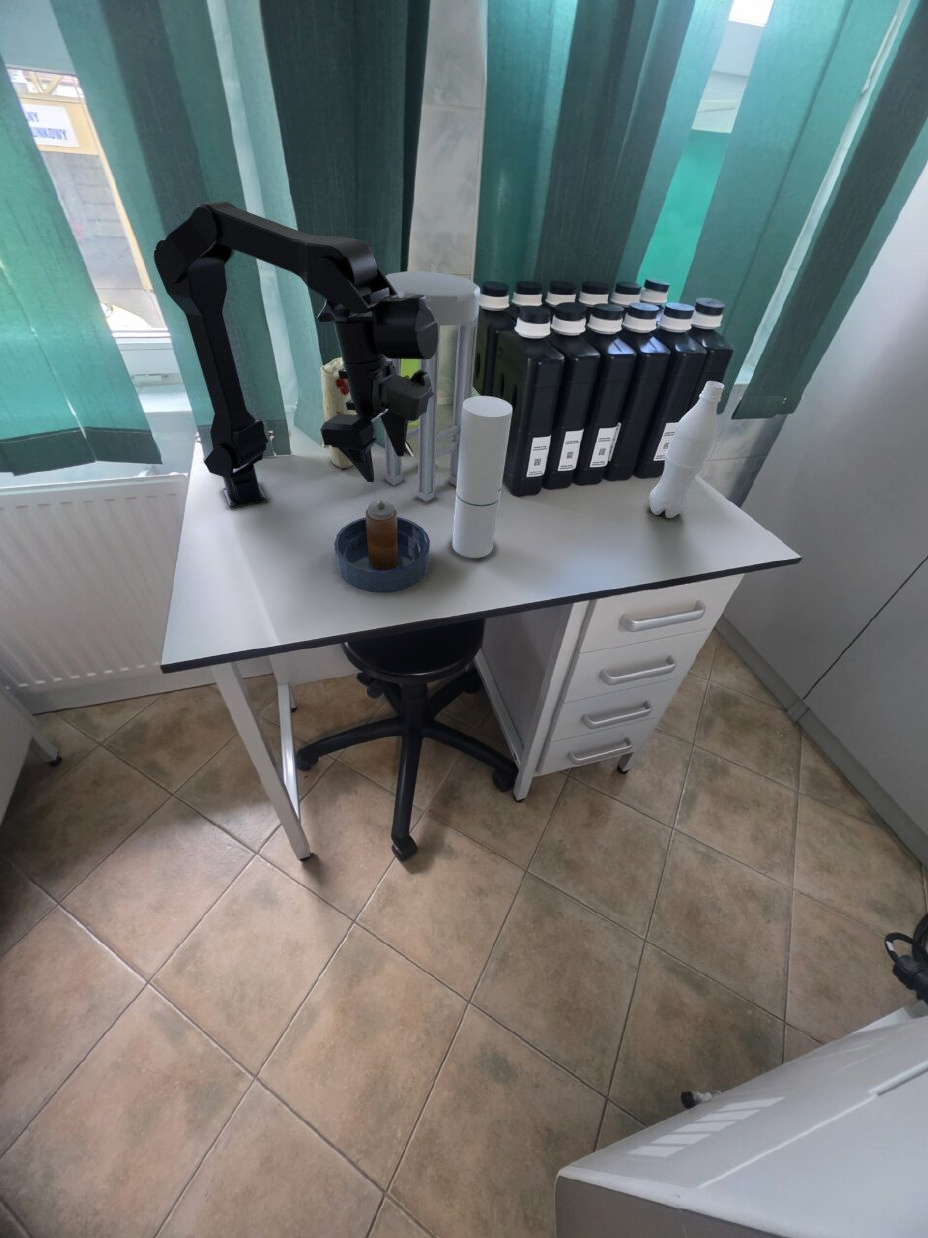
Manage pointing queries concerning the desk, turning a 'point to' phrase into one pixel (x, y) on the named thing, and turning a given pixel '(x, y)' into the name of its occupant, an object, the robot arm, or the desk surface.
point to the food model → (335, 402)
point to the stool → (450, 306)
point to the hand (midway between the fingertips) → (386, 468)
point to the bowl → (363, 576)
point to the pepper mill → (382, 535)
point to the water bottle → (687, 452)
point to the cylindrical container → (480, 473)
